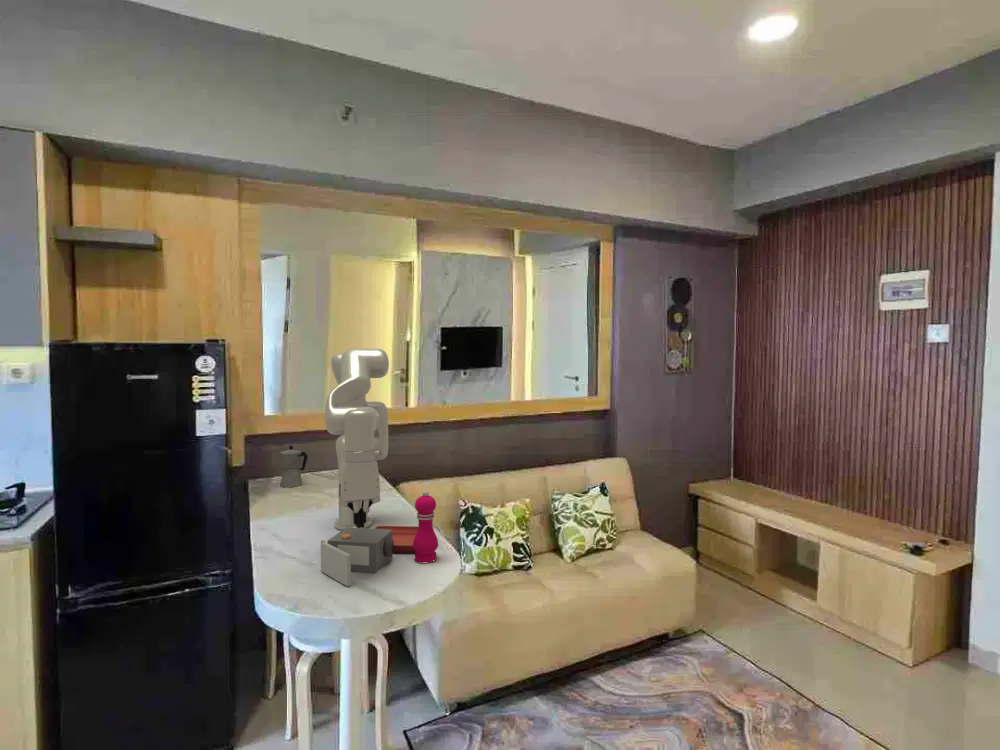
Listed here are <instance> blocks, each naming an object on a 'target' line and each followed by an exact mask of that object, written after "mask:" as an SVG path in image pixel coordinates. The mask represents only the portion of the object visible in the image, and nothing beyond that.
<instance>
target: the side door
mask: <svg viewBox="0 0 1000 750" xmlns="http://www.w3.org/2000/svg"><path fill="white" fill-rule="evenodd" d="M320 571H321V572H322V573H323V574H325V575H327V576H328V577H330V578H332V579H333V580H335V581H337V582H339V583H341V584H342V585H345V586H346V587H350V586H352V585H351V584H352V578H351V576H352V574H351V573H352V571H351V555H350V554H348V553H346V552H344V551H342V550H340V549H338V548H336V547H334V546H332V545H330V544H328V542H325V540H322V539H321V540H320Z"/></svg>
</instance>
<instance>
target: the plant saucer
mask: <svg viewBox="0 0 1000 750" xmlns="http://www.w3.org/2000/svg"><path fill="white" fill-rule="evenodd" d="M374 529H387V530H392V539H393V541H394V549H393V553H403V552H416V551H415V550H414V548H413V541H414V537H415V535H416V533H417V530H418V526H410V525H409V526H407V525H406V526H405V525H404V526H403V525H398V526H397V525H376V526H375V528H374Z"/></svg>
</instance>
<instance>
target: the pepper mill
mask: <svg viewBox="0 0 1000 750" xmlns="http://www.w3.org/2000/svg"><path fill="white" fill-rule="evenodd" d="M429 494H430V493H429V490H423V491H422V495H421V496H418V498H416V500H415V502H414V507H415V508H414V509H415V510H416V511H417V513H416V519H418V520H417V521H418V526H417V527H418V530H417V533H416V535H415V537H414V541H413V548H414V550H415V551H416V553H414V561H415V562H416V561H417V563H418V562H422V563H421V564H424V563H423V562H431V561H433V560H435V559H436V558H437V557H438V556H437V552H436V550H437V549H438V547H439V540H438V537H437V535H436V533H435V530H434V526H433V525H434V524H433V521H434V520H433V519H434V518H435V512H434V511H435V510H436V508H437V502H436V500H435V498H434V497H433V496H432V495H429ZM436 560H437V559H436ZM436 560H435V561H436ZM431 563H432V562H431Z"/></svg>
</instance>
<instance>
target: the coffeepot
mask: <svg viewBox="0 0 1000 750" xmlns="http://www.w3.org/2000/svg"><path fill="white" fill-rule="evenodd" d="M278 454H279V456H280V463H281V467H282V468H283V469H282V470H283V471H282V473H281V478H280V487H281V488H284V489H285V488H286V489H290V488H293V489H294V488H299V487H301V486H302V485H303V480H302V475H301V471H304V470H305V468H306V466H307V465H306V464H307V462H308V459H309V458H308V453H306V451H301V450H297V449H294V446H293V445H289V446H288V449H286V450H282V451H278ZM302 457H303V459H302ZM301 461H302V464H301ZM301 465H302V466H301Z"/></svg>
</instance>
